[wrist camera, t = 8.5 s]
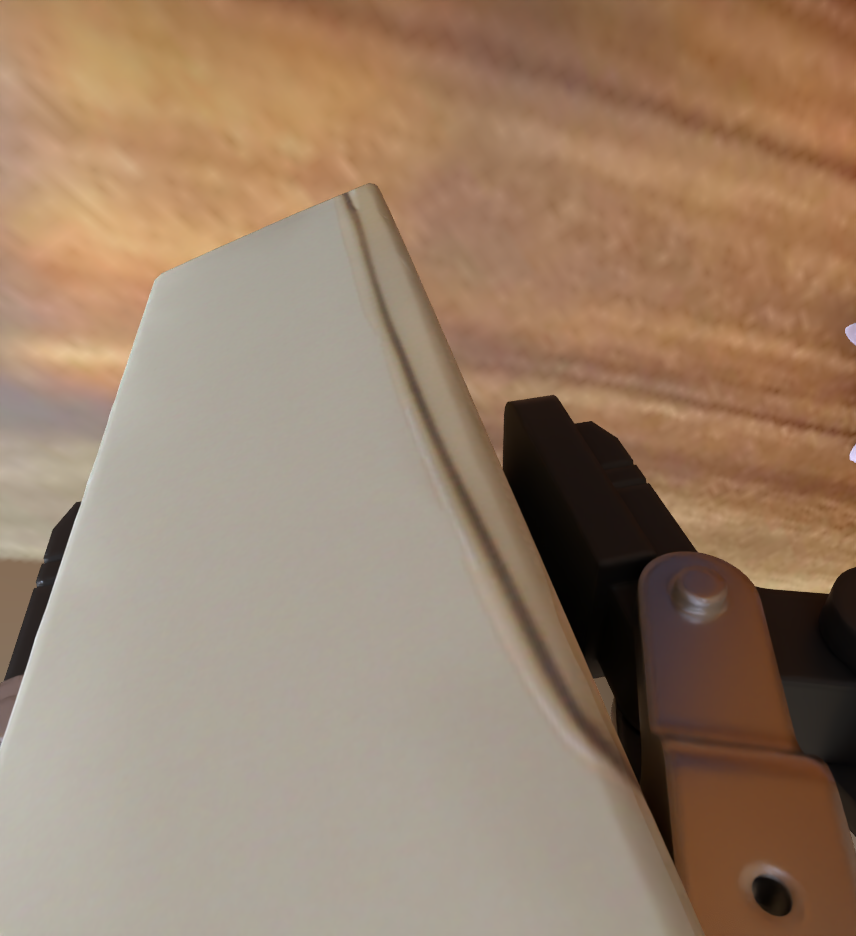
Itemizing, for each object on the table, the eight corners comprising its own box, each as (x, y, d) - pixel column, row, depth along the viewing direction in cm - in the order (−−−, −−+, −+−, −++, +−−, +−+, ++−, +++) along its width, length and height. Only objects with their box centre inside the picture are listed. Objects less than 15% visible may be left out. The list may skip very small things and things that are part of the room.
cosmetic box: (480, 439, 15) (845, 1253, 6) (297, 515, 16) (373, 1406, 6) (369, 160, 11) (958, 1320, 2) (125, 270, 12) (-385, 1744, 2)
